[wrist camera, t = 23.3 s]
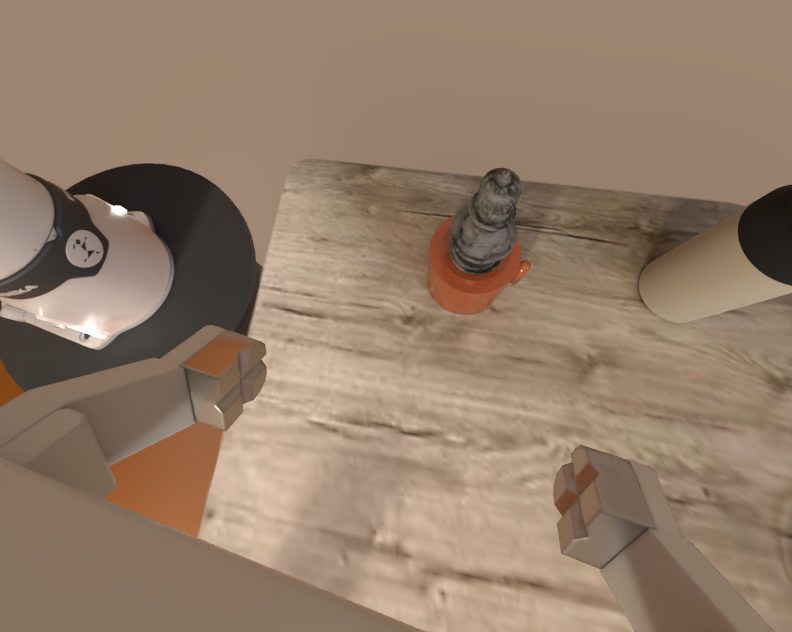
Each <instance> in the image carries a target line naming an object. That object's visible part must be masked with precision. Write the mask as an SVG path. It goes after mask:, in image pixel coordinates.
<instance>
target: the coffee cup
mask: <svg viewBox="0 0 792 632" xmlns="http://www.w3.org/2000/svg"><path fill="white" fill-rule="evenodd" d="M454 216H455V215H454ZM454 216H452V217H450V218H448V219H447V220H445V221H444V222H443V223H442V224H441V225H440V226H439V227H438V228H437V230H436V231H435V233H434V235H433V237H432V240H431V244H430V251H429V262H428V272H427V284H428V288H429V291H430V293H431V295H432V297H433V298H434V300H435V301H436V302H437V303H438V304H439V305H440V306H441V307H443V308H444V309H446V310H448V311H450V312H453V313H457V314H474V313H478V312H480V311H483V310H485V309H486V308H488V307H489V306H490V305H491V304H492V303H493V302H494V301H495V300H496V299H497V297H498V296H499V295H500V294H501V292H502V291H503V290H504V289H505V287H506V286H507V285H508V284H509V283H511V284H517V283H518V282H519V281H520V279H521V278H522V277H523V276H524V275H525V274H526V273H527V271H528V270H529V269H530V266H531V265H530V263H529V262H528V261H527V260H523V261H521V262H520V260H521V248H520V244H519V240H518V238H517V239H516V243H515V245H514V248H513V249H512V250H511V252H510V253H509V254H508V255H507V256H506V257H504V258H503V259H502V260H501V262H500V263H499V265H498V266H497V267H496V268H495V269H494V270H492V271H491V272H488V273H485V274H480V275H474V274H468V273H466V272H463V271H462V270H460V269H459V268H458V267H456V265H455V264H454V263H453V262H452V259H451V257H450V253H449V245H450V235H449V230H450V224H451V222H452V219H453V217H454Z"/></svg>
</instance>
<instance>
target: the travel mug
mask: <svg viewBox="0 0 792 632" xmlns="http://www.w3.org/2000/svg"><path fill="white" fill-rule="evenodd" d="M639 291H640V294H641V297H642V299H643V301H644V303H645V304H646V306H647V307H648V308H649V309H650V310H651V311H652V312H653V313H655V314H656V315H657V316H659V317H661V318H663V319H665V320H668V321H671V322H677V323H685V322H691V321H694V320H698V319H701V318H705V317H708V316H712V315H715V314H719V313H722V312H726V311H729V310H733V309H736V308H740V307H743V306H747V305H750V304H754V303H757V302H761V301H764V300H768V299H771V298H775V297H778V296H782V295H785V294H789V293H792V185H787V186H783V187H780V188H777V189H775V190H774V191H772V192H770V193H768V194H767V195H765V196H763V197H761V198H760V199H758V200H756V201H755V202H753V203H751V204H749V205H748V206H746V207H744V208H743V209H741V210H739V211H738V212H736V213H734V214H732V215H731V216H729V217H727V218H726V219H724V220H722V221H720V222H719V223H717V224H715V225H714V226H712V227H710V228H708V229H707V230H705V231H703V232H702V233H700V234H698V235H696V236H695V237H693V238H691V239H690V240H688V241H686V242H685V243H683V244H681V245H679V246H678V247H676V248H674V249H673V250H671V251H669V252H667V253H666V254H664V255H662V256H661V257H659V258H657V259H655V260H654V261H652V262H650V263H649V264H648V265H647V266H646V267H645V268H644V269H643V271H642V273H641V275H640V279H639Z"/></svg>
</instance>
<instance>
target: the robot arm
mask: <svg viewBox="0 0 792 632" xmlns="http://www.w3.org/2000/svg"><path fill="white" fill-rule="evenodd" d="M173 278H174V261H173V257H172V254H171V251H170V249H169V247H168V246H167V244H166V243H165V242H164V241H163V240H162V239H161V238H160V237H159V236H158V235H157V233H156V232H155V229H154V226H153V222H152V220H151V218H150V217H149V216H148V215H147V214H145V213H143V212H140V211H135V212H126V210H125V209H124V208H122V207H121V206H112V205H110V204H109V203H107V202H105V201H103V200H101V199H100V198H98V197H96V196H94V195H91V194H86V195H73V196H72V195H71V194H69V193H68V192H67V191H65V190H64V189H62V188H61V187H59V186H57V185H55V184H53V183H52V182H49V181H46V180H44V179H42V178H40V177H38V176H36V175H32V174H28V173H23V172H22V171H20V170H18V169H16V168H15V167H13V166H11V165H10V164H8V163H6V162H5V161H3V160H1V159H0V300H1V302H2V309H1V311H0V316H2V317H5V318H8V319H12V320H16V321H21V322H25V321H26V322H28V323H30V324H33V325H35V326H38V327H40V328H43V329H45V330H47V331H50V332H52V333H55V334H57V335H60V336H62V337H64V338H67V339H69V340H72V341H74V342H76V343H79V344H81V345H84V346H86V347H89V348H92V349H96V350H100V349H102V348H104V347H106V346H107V345H108V344H110V343H111V342H112V341H113V340H114V339H115V338H116V337H117V336H118V335H119V334H121V333H122V332H124V331H126V330H129V329H131V328H133V327H135V326H137V325H139V324H141V323H143V322H144V321H146V320H147V319H148V318H149V317H151V316H152V315H153V314H154V313H155V312H156V311H157V310H158V309H159V307H160V306H161V305H162V304H163V302H164V301H165V299H166V297H167V295H168V293H169V291H170V289H171V286H172V282H173ZM89 336H90V337H89ZM265 355H266V348H265V344H264V343H262V342H261V341H258V340H255V339H252V338H249V337H247V336H244V335H241V334H238V333H235V332H232V331H230V330H225V329H223V328H220V327H217V326H214V325H208V326H205V327H204V328H202V329H201V330H199V331H198V332H197V333H195V334H194V335H192V336H191V337H190V338H188V339H187V340H185V341H184V342H183V343H181V344H180V345H179V346H177V347H176V348H174V349H173V350H172V351H170V352H169V353H167V354H166V355H165V356H163V357H162V358H160V359H157V358H150V359H146V360H143V361H139V362H135V363H131V364H127V365H123V366H119V367H116V368H112V369H108V370H104V371H100V372H96V373H93V374H89V375H85V376H81V377H77V378H73V379H69V380H66V381H62V382H58V383H54V384H50V385H46V386H43V387H39V388H35V389H31V390H28V391H26V392H24V393H23V394H21V395H19V396H18V397H16V398H14V399H12V400H11V401H9V402H7V403H6V404H4V405H2V406H1V407H0V632H425V631H423V630H420V629H418V628H415V627H413V626H410V625H408V624H406V623H403V622H401V621H398V620H396V619H393V618H391V617H389V616H386V615H384V614H381V613H379V612H376V611H374V610H372V609H369V608H367V607H364V606H362V605H359V604H357V603H355V602H352V601H350V600H347V599H345V598H342V597H340V596H337V595H335V594H333V593H330V592H328V591H325V590H323V589H320V588H318V587H316V586H313V585H311V584H308V583H306V582H303V581H301V580H299V579H296V578H294V577H291V576H289V575H286V574H284V573H282V572H279V571H277V570H274V569H272V568H269V567H267V566H264V565H262V564H260V563H257V562H255V561H252V560H250V559H247V558H245V557H243V556H240V555H238V554H235V553H233V552H230V551H228V550H226V549H223V548H221V547H218V546H216V545H213V544H211V543H208V542H206V541H204V540H201V539H199V538H196V537H194V536H191V535H189V534H186V533H184V532H182V531H179V530H177V529H174V528H172V527H169V526H167V525H165V524H162V523H159V522H157V521H155V520H152V519H150V518H148V517H145V516H143V515H140V514H137V513H135V512H133V511H130V510H128V509H125V508H123V507H121V506H118V505H116V504H113V503H111V502H108V501H106V500H104V499H105V498H106V497H107V496H108V495H109V494H110V493H111V492H112V491H113V490H114V489H115V487H116V481H115V478H114V476H113V474H112V472H111V470H110V467H109V466H110V465H112V464H114V463H116V462H118V461H120V460H122V459H125V458H127V457H129V456H131V455H132V454H134V453H136V452H139V451H141V450H143V449H145V448H146V447H148V446H151V445H153V444H155V443H157V442H159V441H161V440H163V439H165V438H167V437H169V436H171V435H173V434H175V433H177V432H179V431H181V430H183V429H184V428H187V427H189V426H191V425H193V424H194V423H195V421H196V422H199V423H202V424H205V425H208V426H211V427H214V428H217V429H220V430H223V431H227V430H228V429H229V427H230V426H231V425H232V424H233V423H234V422H235V421H236V419H237V418H238V417H239V416H240V415H241V414H242V412H243V404H244V403H247V402H249V401H252V400H254V398H255V397H256V396H257V395H258V394H259V392H260V391H261V389H262V387H263V385H264V383H265V379H266V374H267V373H266V366H265V364H264V363H263V361H262V360H261V359H262V358H263V357H264V356H265ZM571 458H572V463H569V464H566V465H563V466H562V467H561V469H560V470H559V472H558V473H557V475H556V479H555V482H554V492H553V495H554V504H555V506H556V507H557V509H558V510H559V512H560V513H561V515H562V518H561V519H560V520H559V522H558V523H557V526H558V533H559V541H560V548H561V554H564V555H566V556H569V557H571V558H574V559H576V560H579V561H581V562H584V563H587V564H589V565H592V566H594V567H597V568H599V569H601V570H600V572H601V574H602V575H603V577H604V579H605V581H606V582H607V584H608V586H609V587H610V589H611V591H612V593H613V594H614V596H615V598H616V600H617V601H618V603H619V605H620V606H621V608H622V610H623V612H624V613H625V615H626V617H627V618H628V620H629V622H630V624H631V625H632V627H633V629H634V631H635V632H775V631H774V630H773V629H772V628H771V627H770V626H769V625H768V624H767V623H766V622H765V621H764V620H763V619H762V618H761V616H760V615H759V614H758V613H757V612H756V611H755V610H754V609H753V608H752V607H751V606H750V605H749V604H748V602H747V601H746V600H745V599H744V598H743V597H742V596H741V595H740V594H739V593H738V592H737V591H736V590H735V588H734V587H733V586H732V585H731V584H730V583H729V582H728V581H727V580H726V579H725V578H724V577H723V576H722V574H721V573H720V572H719V571H718V570H717V569H716V568H715V567H714V566H713V565H712V564H711V563H710V562H709V561H708V559H707V558H706V557H705V556H704V555H703V554H702V553H701V552H700V551H699V550H698V549H697V548H696V547H695V545H694V544H693V543H691V542H688V541H685V540H684V538H683V536H682V534H681V531H680V529H679V527H678V524H677V522H676V520H675V517H674V515H673V513H672V510H671V508H670V506H669V503H668V501H667V499H666V496H665V494H664V492H663V489H662V487H661V485H660V482H659V480H658V478H657V475H656V473H655V471H654V470H653V469H652V468H651V467H650V466H647V465H644V464H640V463H637V462H634V461H631V460H628V459H623V458H621V457H618V456H614V455H611V454H608V453H605V452H602V451H599V450H595V449H592V448H589V447H586V446H583V445H580V446H578V447H576V448H575V449H574V451H573V452H572V453H571Z"/></svg>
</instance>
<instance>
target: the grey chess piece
mask: <svg viewBox="0 0 792 632" xmlns="http://www.w3.org/2000/svg"><path fill="white" fill-rule="evenodd" d="M521 189H522V184H521V180H520V179H519V177H518V176H517V175H516V174H515V173H514V172H513V171H511V170H509V169H506V168H496V169H493V170H491V171H489V172H488V173H487V174H486V175H485V176H484V178H483V179H482V181H481V184H480V187H479V191H478V192H477V193H476V194H475V195H474V196H473V197H472V199H471V201H470V203H469V205H468V206H465V207H464V208H462V209H461V210H459V211H458V212H457V214H456V215H455V216H454V217H453V219H452V222H451V224H450V230H449V235H450V245H449V253H450V257H451V259H452V262H453V263H454V264H455V265H456V267H458V268H459V269H460V270H462V271H463V272H466V273H468V274H474V275H480V274H485V273H488V272H491V271H492V270H494V269H495V268H496V267H497V266H498V265H499V263H500V262H501V260H502V259H503V258H504V257H506V256H507V255H508V254H509V253H510V252H511V250H512V249H513V248H514V245H515V243H516V239H517V229H516V224H515V222H514V217H515V215H516V207H515V205H516V203H517V201H518V199H519V197H520V194H521Z"/></svg>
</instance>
